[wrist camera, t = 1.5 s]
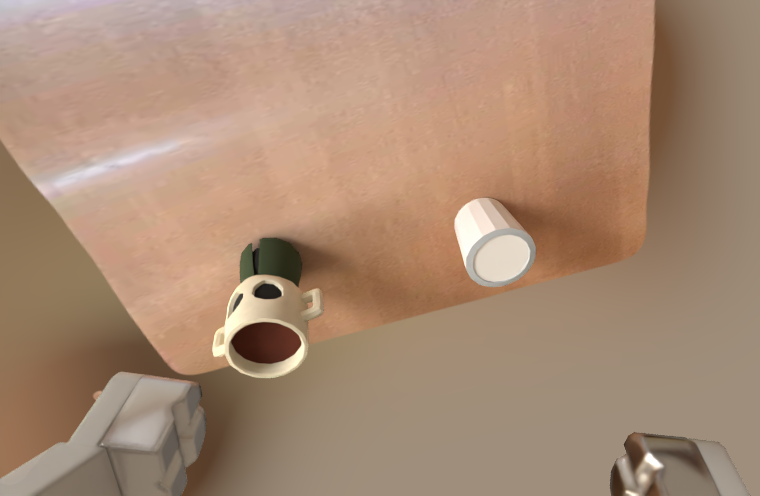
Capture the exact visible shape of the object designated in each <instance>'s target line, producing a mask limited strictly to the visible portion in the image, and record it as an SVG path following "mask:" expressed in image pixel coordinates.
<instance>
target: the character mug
mask: <svg viewBox="0 0 760 496" xmlns="http://www.w3.org/2000/svg"><path fill="white" fill-rule="evenodd" d="M301 270H302V261H301V258H300V255H299V253H298V252H297V250H296V249H295V248H294V247H293V246H292V245H291V244H290V243H288V242H286V241H283V240H280V239H278V238H263V239H260V246H259V248H257V249H256V250H255V251H253V252H252V243H251V244H249V245H248V246H247V247H246V249H245V250H244V251H243V252H242V255H241V261H240V282H241V284H240V285H239V286H238V287H237V288H236V290H235V291H234V293H233V294H232V296H231V298H230V301H229V304H228V307H227V317H226V322H225V326H224V327H222V328H220V329H219V330H217V331H216V333H215V337H214V343H213V348H212V350H213V355H214V356H215V357H222V356H224V355H225V356H226V358H227V360H228V362H229V364H230V365H231V366H233V367H234V368H235V369H237V370H238V371H239V372H241V373H243V374H246V375H250V376H253V377H258V378H274V377H277V376H282V375H286V374H288V373H290V372H292V371H293V370H295V369H296V368H298V367H299V366H300V365H301V363H302V362H303V361H304V359H305V358H306V356H307V350H308V344H309V333H308V321H309V320H312V319H314V318H316V317H319V316H320V315H322V314H323V311H324V305H323V292H322V291H321V289H318V288H317V289H313V290H310V291H308V292H305V293H303V292H302V291H301V290H300V289H299V288H298V286H299V281H300V276H301ZM312 301H313V307H311V308H309V309H308V304H307V303H310V302H312Z"/></svg>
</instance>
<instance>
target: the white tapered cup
mask: <svg viewBox="0 0 760 496" xmlns="http://www.w3.org/2000/svg"><path fill="white" fill-rule="evenodd" d="M455 232H456V235H457V239H458V242H459V246H460V249H461V253H462V256H463V260H464V264H465V267H466V270H467V272H468V274H469V276H470V278H471V279H472V280H474V281H475V282H477V283H478V284H480V285H483V286H488V287H498V286H505V285H508V284H510V283H512V282H514V281H516V280H518V279H520V278H521V277H522V276H523V275H524V274H525V273H526V272H528V271H529V269H530V267H531V265H532V264H533V262H534V260H535V254H536V247H535V244H534V241H533V239H532V237H531V236H530V235H529V234H528V233H527V232H526V231H525V229H524V228H523V227H522V226H521V225H520V224H519V223H518V222H517V220H516V219H515V218H514V217H513V216H512V215H511V214H510V212H509V211H508V210H507V209H506V208H505V207H504V206H503V205H502V204H501V203H500V202H498V201H497V200H495V199H491V198H487V197H486V198H478V199H475V200H473V201H471V202H469V203H466V204H465V205H464V206H463V207H462V208H461V209H460V210H459V212H458V214H457V216H456V218H455Z"/></svg>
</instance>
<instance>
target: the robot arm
mask: <svg viewBox="0 0 760 496" xmlns="http://www.w3.org/2000/svg"><path fill="white" fill-rule="evenodd" d="M201 397H202V391H201V387H200V383H198V382H192V381H185V380H178V379H171V378H164V377H157V376H150V375H142V374H135V373H127V372H119V373H117V374H116V375H115V376H114V377H112V378H111V380H110V381H109V382H108V384H107V386H106V387H105V388H104V390H103V391H102V393H101V394H100V396H99V397H98V399H97V400H96V402H95V403H94V405H93V406H92V408H91V409H90V410H89V412H88V413H87V415H86V416H85V418H84V419H83V421H82V422H81V424H80V425H79V427H78V428H77V430H76V431H75V433H74V434H73V435H72V437H71V439H70V440H69V441H68V443H62V442H61V443H60V442H59V443H57V444H56V445H54V446H53V447H51V448H49V449H48V450H46V451H44V452H43V453H41V454H40V455H38V456H36V457H35V458H33V459H31V460H30V461H28V462H27V463H25V464H23V465H22V466H20V467H18V468H17V469H15V470H14V471H12V472H10V473H9V474H7V475H6V476H4V477H2V478H1V479H0V496H181V495H182V492H183V490H184V488H185V486H186V483H187V478H186V472H185V468H186V467H188V466H189V465H190V464H192V463H193V462H194V461H195V460H197V457H198V455H199V452H200V450H201V447H202V444H203V439H204V435H205V431H206V415H205V410H204V409H203V408H202V407H200V406H199V405H198V403H199V401H200V399H201ZM624 447H625V450H626V453H627V454H625V455H624V456H622V457H620V458H618V459H617V460H616V461H615V464H614V466H613V468H612V471H611V479H610V490H611V496H750V494H749V492H748V490H747V489H746V486H745V484H744V483H743V481H742V479H741V477H740V475H739V473H738V471H737V470H736V468H735V466H734V464H733V462H732V460H731V458H730V456H729V454H728V453H727V451H726V449H725V448H724V446H722V445H721V444H720V443H719V442H715V441H706V440H698V439H687V438H685V437H674V436H665V435H656V434H646V433H635V432H634V433H632V434H630V435H629V436H628V438H627V440H626V441H625V443H624Z"/></svg>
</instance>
